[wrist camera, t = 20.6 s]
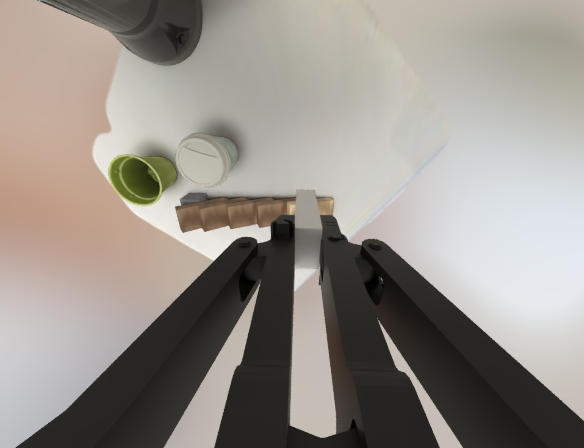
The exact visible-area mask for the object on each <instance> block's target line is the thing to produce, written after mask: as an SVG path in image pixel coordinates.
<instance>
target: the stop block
mask: <svg viewBox="0 0 584 448" xmlns="http://www.w3.org/2000/svg"><path fill="white" fill-rule="evenodd" d="M202 201H207V194H203V193H189V194H187V195H186V196H184V197H183V198H181V199H180V202H181V205H187V204H192V203H197V202H202Z"/></svg>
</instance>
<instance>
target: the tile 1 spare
mask: <svg viewBox="0 0 584 448" xmlns="http://www.w3.org/2000/svg"><path fill="white" fill-rule="evenodd" d="M317 204H318V209H319V214H320V215H332V216H333V207H334V200H333V199H332V198H330V197H328V198H318V199H317ZM295 207H296V201H290V202H287V215H295Z"/></svg>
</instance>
